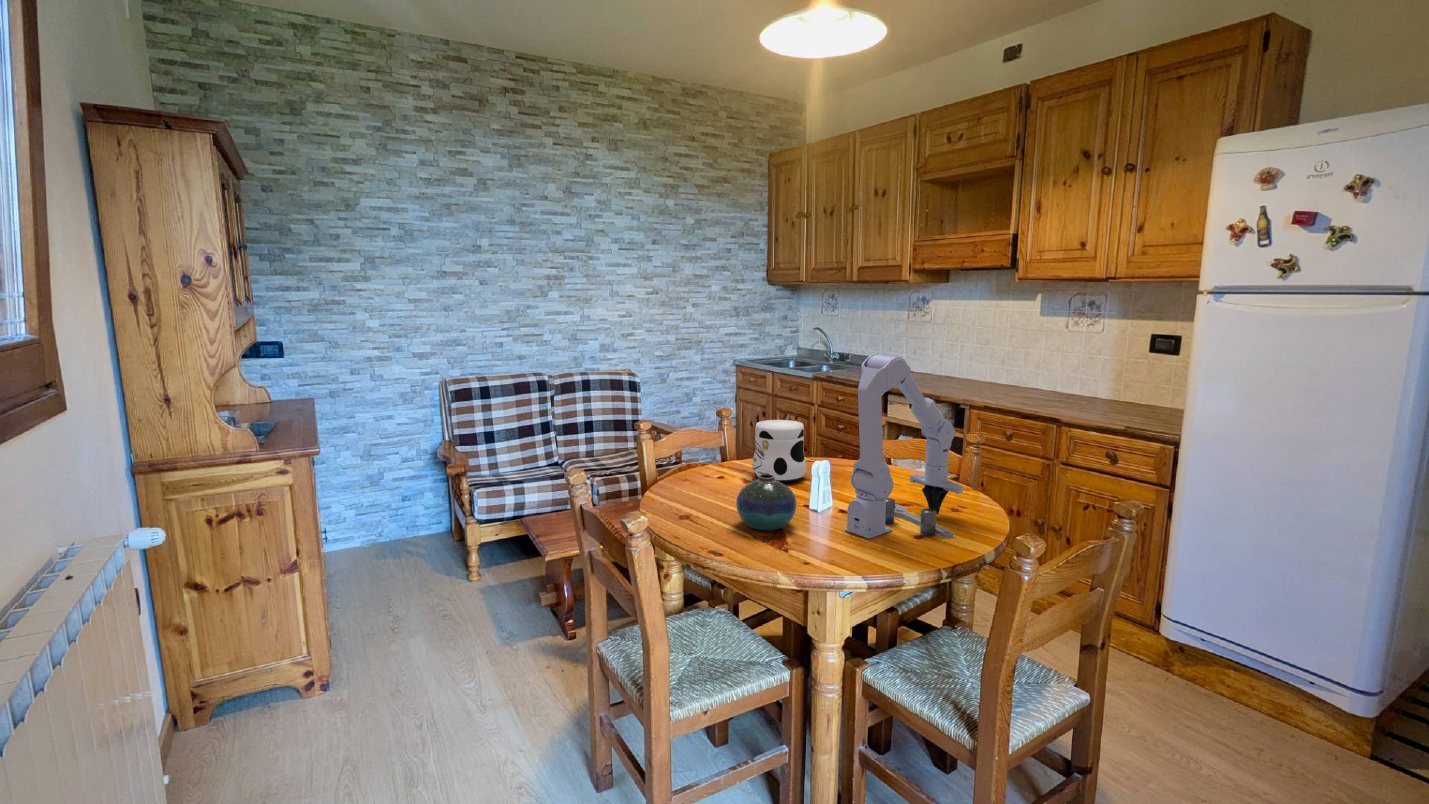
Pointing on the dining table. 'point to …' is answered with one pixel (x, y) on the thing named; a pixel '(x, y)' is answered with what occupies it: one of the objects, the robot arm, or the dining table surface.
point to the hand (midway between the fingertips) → (934, 513)
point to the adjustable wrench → (919, 521)
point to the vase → (766, 504)
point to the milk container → (779, 450)
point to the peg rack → (926, 518)
